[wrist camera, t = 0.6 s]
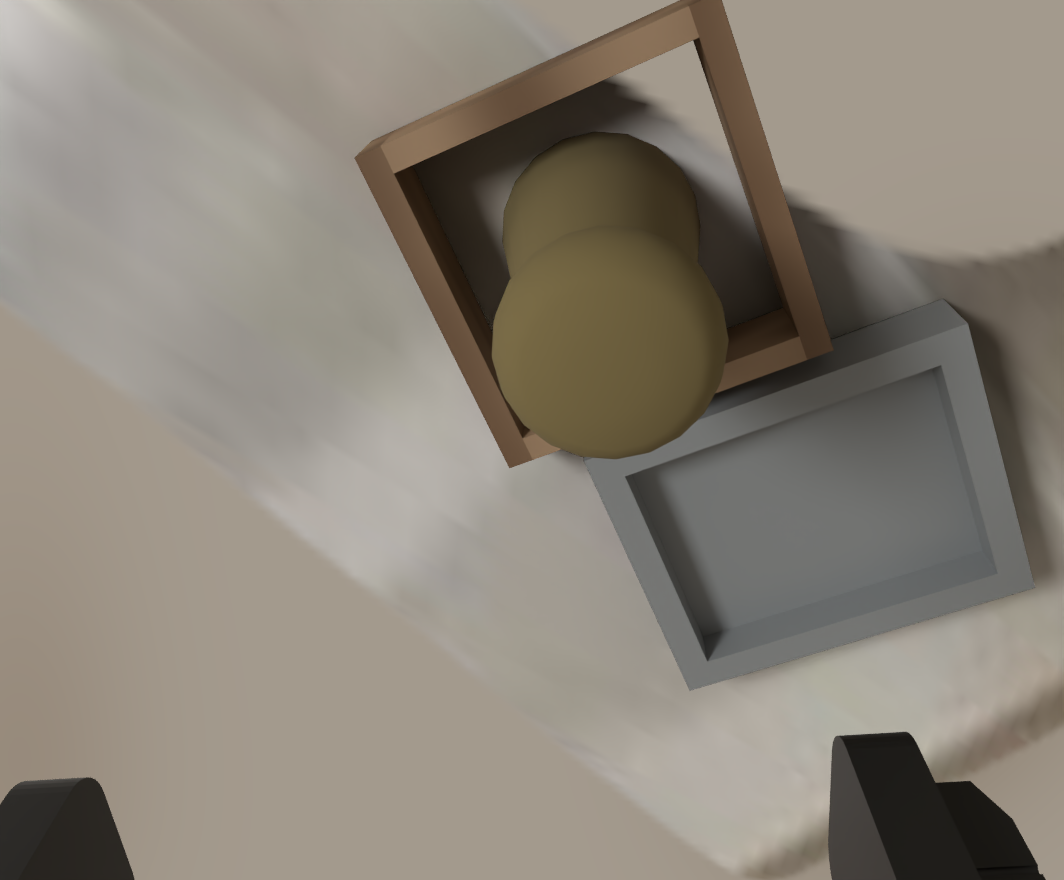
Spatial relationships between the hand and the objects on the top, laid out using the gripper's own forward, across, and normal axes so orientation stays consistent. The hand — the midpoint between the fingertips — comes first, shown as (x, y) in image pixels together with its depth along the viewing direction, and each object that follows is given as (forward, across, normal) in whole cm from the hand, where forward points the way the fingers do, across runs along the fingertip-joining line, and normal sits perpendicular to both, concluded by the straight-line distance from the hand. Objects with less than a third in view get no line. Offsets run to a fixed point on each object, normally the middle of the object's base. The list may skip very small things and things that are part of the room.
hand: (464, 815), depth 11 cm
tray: (+22, -9, +8) cm, 25 cm away
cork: (+22, -2, -1) cm, 22 cm away
